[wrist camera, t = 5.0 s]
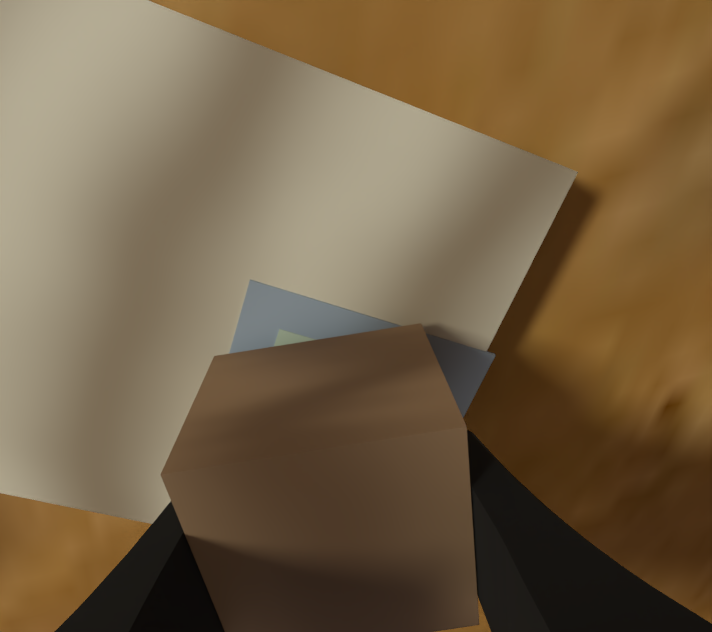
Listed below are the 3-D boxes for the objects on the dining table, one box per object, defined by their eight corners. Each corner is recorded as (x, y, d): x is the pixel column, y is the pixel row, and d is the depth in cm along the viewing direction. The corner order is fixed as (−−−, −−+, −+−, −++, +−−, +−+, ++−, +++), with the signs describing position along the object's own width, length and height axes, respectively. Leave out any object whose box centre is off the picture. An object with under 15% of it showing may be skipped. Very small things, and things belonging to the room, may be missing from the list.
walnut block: (421, 323, 11) (466, 426, 8) (437, 482, 13) (479, 624, 10) (214, 356, 11) (160, 474, 8) (261, 509, 13) (237, 662, 10)
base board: (557, 168, 12) (589, 176, 11) (378, 533, 17) (383, 573, 15) (-174, -122, 9) (-269, -166, 8) (-146, 418, 14) (-202, 454, 12)
